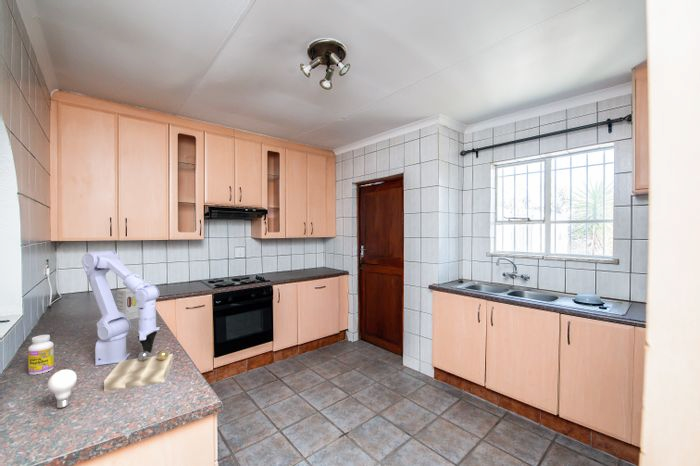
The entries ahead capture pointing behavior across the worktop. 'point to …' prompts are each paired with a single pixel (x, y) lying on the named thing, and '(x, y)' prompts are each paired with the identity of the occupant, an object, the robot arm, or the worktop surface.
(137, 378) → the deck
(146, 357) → the steel ball
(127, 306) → the supplement box
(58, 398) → the lightbulb
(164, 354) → the brass ball
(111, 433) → the worktop surface
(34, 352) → the supplement bottle
